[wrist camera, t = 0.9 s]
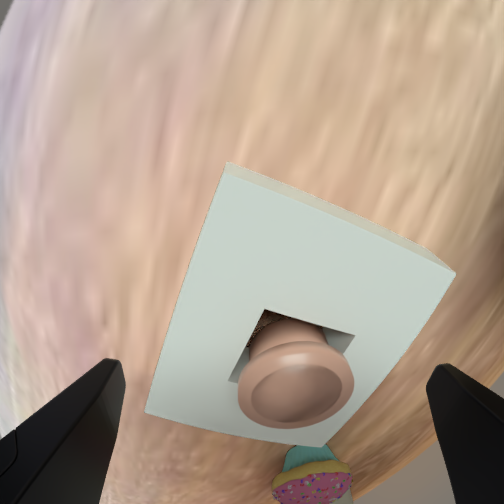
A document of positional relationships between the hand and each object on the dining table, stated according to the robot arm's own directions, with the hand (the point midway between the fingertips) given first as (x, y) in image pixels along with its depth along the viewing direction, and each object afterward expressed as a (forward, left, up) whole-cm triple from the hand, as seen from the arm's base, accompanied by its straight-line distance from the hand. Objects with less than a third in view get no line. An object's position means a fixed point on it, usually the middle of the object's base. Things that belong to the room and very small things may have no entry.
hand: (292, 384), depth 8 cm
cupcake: (-15, +22, -13) cm, 30 cm away
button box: (-4, +6, -13) cm, 15 cm away
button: (-4, +6, -10) cm, 12 cm away
